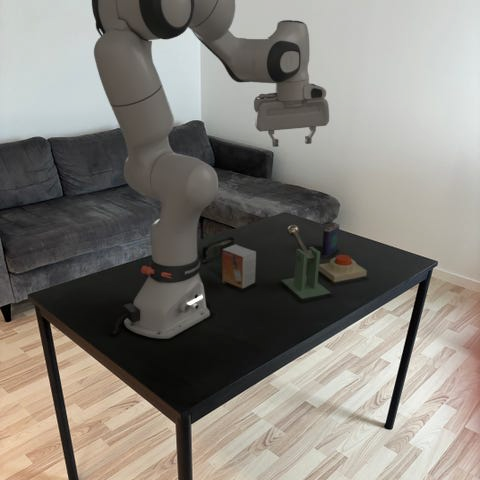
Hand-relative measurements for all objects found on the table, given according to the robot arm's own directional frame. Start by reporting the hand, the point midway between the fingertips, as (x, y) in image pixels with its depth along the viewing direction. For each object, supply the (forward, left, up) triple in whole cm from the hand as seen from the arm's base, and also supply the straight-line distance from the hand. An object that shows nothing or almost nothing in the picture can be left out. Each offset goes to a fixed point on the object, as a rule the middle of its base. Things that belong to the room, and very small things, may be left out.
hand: (291, 144), depth 135 cm
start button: (-3, -20, -31) cm, 37 cm away
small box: (-23, +4, -35) cm, 42 cm away
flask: (+12, -11, -35) cm, 39 cm away
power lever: (-14, -10, -24) cm, 30 cm away
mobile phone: (-8, +20, -35) cm, 41 cm away
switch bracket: (-17, -14, -35) cm, 41 cm away
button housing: (-3, -20, -35) cm, 40 cm away
